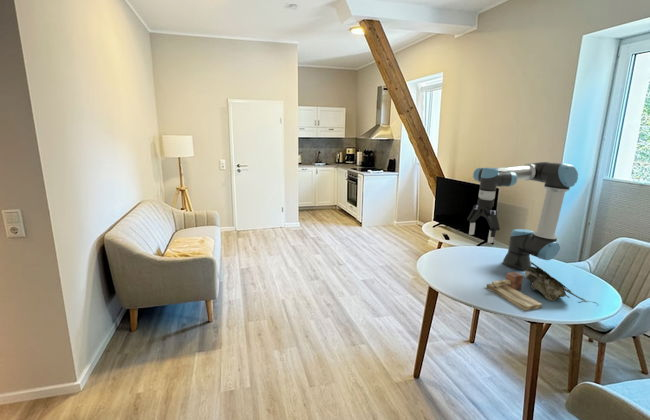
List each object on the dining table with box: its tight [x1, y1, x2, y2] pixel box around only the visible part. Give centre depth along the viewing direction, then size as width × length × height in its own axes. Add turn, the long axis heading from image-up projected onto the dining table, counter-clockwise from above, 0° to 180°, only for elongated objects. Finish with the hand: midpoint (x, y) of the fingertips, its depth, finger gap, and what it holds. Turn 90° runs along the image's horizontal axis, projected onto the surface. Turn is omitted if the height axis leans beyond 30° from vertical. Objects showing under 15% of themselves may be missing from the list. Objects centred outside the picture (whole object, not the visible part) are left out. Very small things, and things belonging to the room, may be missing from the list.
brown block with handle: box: [491, 271, 524, 291], centre depth 176 cm, size 16×5×8 cm, turn 108°
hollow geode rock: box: [524, 260, 572, 302], centre depth 176 cm, size 28×13×15 cm
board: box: [486, 283, 543, 311], centre depth 168 cm, size 10×24×2 cm, turn 18°
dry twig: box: [564, 287, 599, 307], centre depth 174 cm, size 24×10×2 cm, turn 4°
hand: (480, 238), depth 175 cm, fingers open, 13 cm apart
